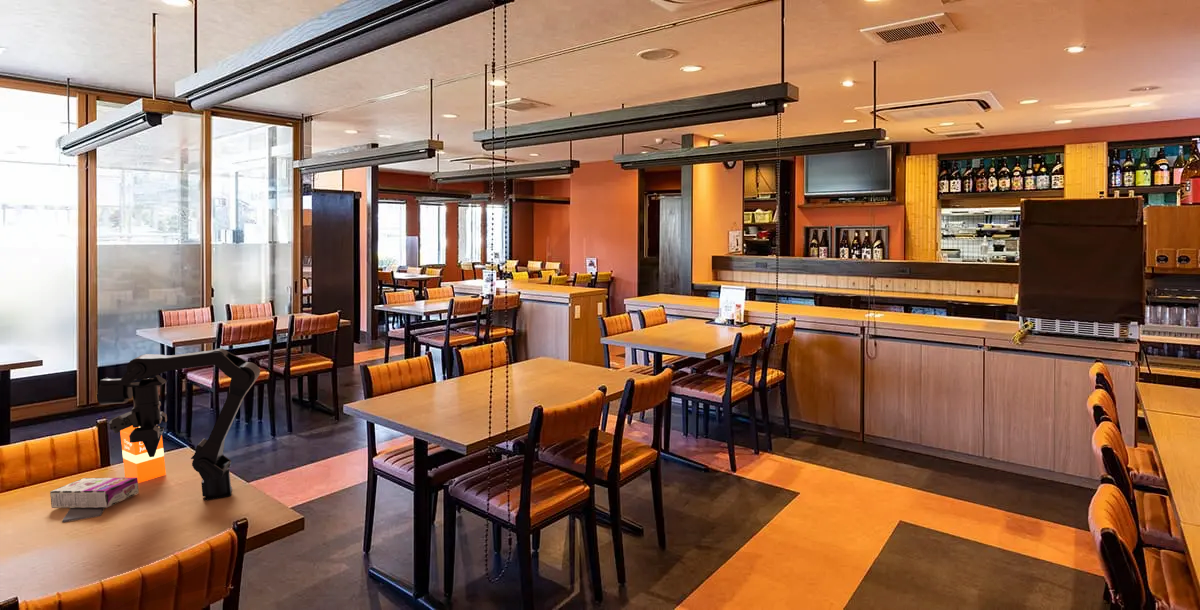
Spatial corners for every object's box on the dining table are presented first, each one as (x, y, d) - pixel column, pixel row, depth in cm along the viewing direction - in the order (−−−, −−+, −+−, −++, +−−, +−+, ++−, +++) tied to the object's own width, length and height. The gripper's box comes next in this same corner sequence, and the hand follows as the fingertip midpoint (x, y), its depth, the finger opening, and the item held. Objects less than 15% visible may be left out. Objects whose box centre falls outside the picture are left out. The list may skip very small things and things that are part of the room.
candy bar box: (139, 494, 187) (86, 493, 189) (138, 477, 187) (84, 476, 188) (106, 509, 176) (50, 508, 178) (105, 491, 176) (48, 490, 177)
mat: (107, 502, 183) (107, 500, 182) (100, 515, 175) (100, 513, 175) (71, 508, 179) (71, 506, 179) (62, 522, 171) (62, 520, 171)
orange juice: (138, 483, 196) (130, 418, 193) (124, 477, 200) (117, 413, 198) (166, 474, 202) (160, 411, 199) (153, 468, 207) (146, 406, 204)
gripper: (117, 396, 184) (123, 450, 186) (102, 414, 168) (109, 473, 170) (164, 391, 189) (169, 444, 191) (154, 408, 173) (160, 466, 175)
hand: (152, 456), depth 182 cm, fingers closed
